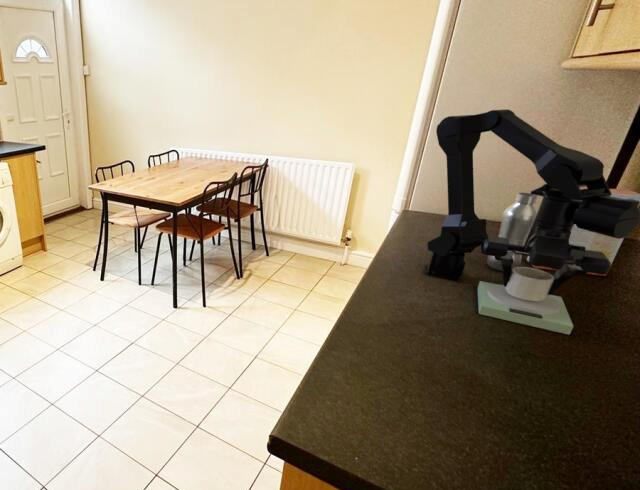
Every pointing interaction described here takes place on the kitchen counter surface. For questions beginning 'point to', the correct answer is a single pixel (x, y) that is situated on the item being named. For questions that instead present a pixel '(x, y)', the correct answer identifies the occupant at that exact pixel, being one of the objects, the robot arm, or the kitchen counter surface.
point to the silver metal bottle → (516, 226)
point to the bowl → (529, 283)
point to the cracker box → (596, 240)
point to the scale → (523, 309)
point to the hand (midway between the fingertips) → (525, 289)
